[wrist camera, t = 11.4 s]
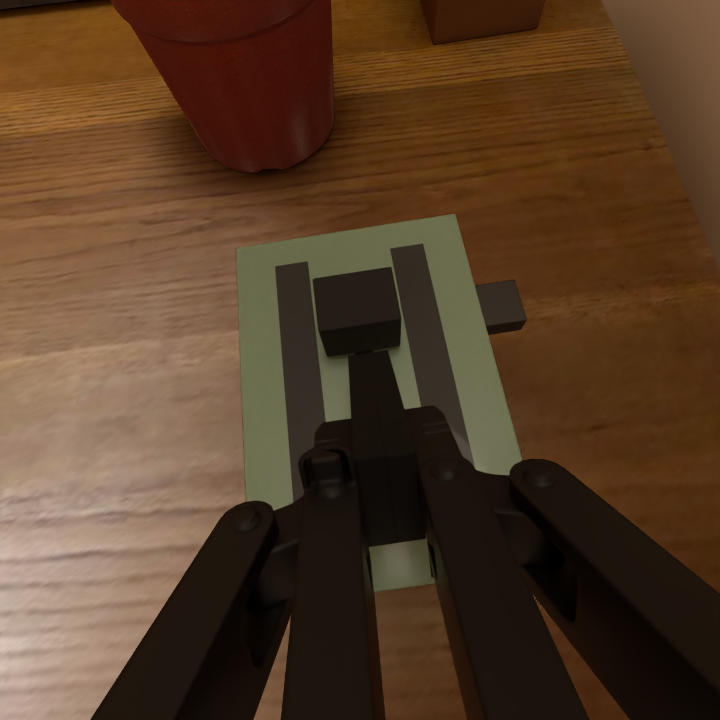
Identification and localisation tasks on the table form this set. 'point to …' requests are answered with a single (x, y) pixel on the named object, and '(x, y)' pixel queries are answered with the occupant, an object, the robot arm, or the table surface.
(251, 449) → the toaster
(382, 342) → the slider
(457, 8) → the red button pedestal
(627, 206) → the table surface
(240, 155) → the flower pot
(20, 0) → the book
